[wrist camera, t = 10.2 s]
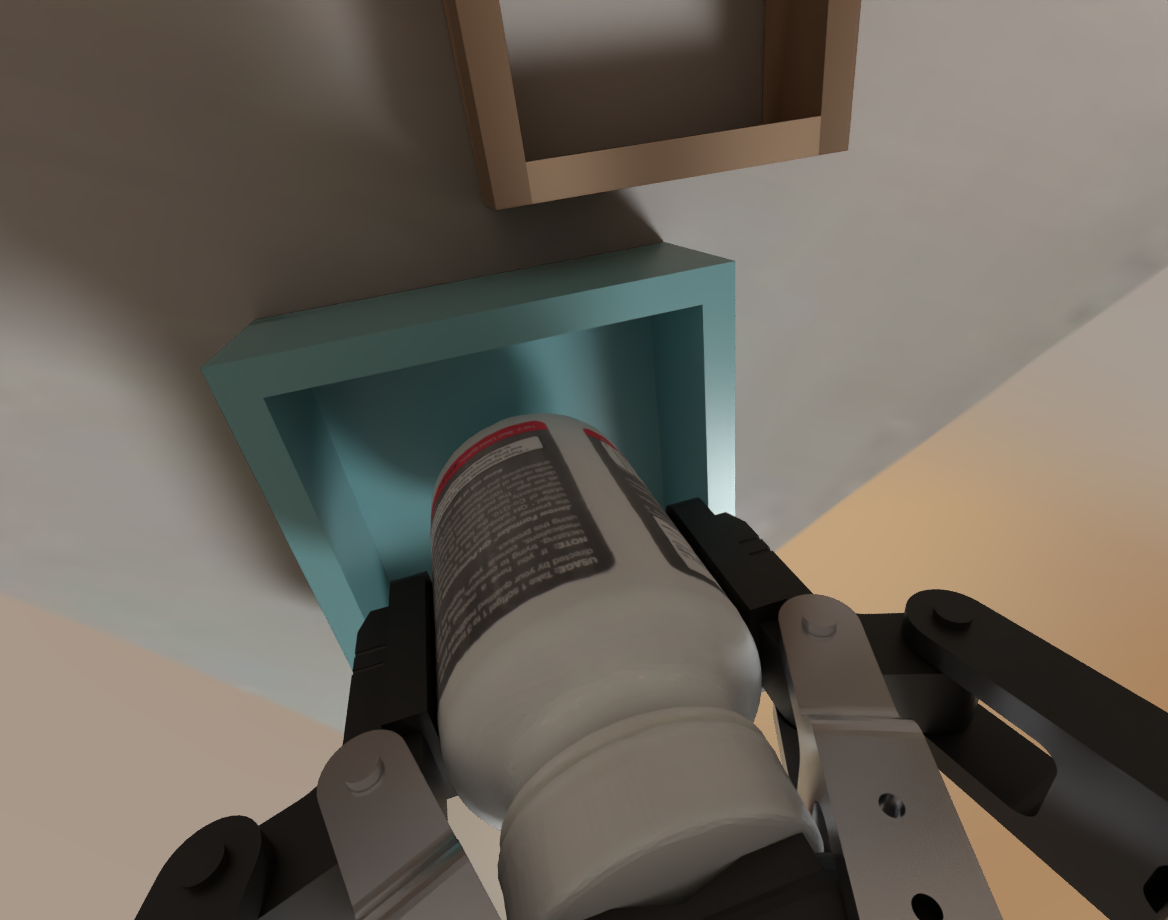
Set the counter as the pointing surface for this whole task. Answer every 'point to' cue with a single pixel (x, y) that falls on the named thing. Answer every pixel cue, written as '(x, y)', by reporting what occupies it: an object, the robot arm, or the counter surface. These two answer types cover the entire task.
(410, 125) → the counter surface
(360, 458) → the tray
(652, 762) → the pill bottle
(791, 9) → the brown open box
